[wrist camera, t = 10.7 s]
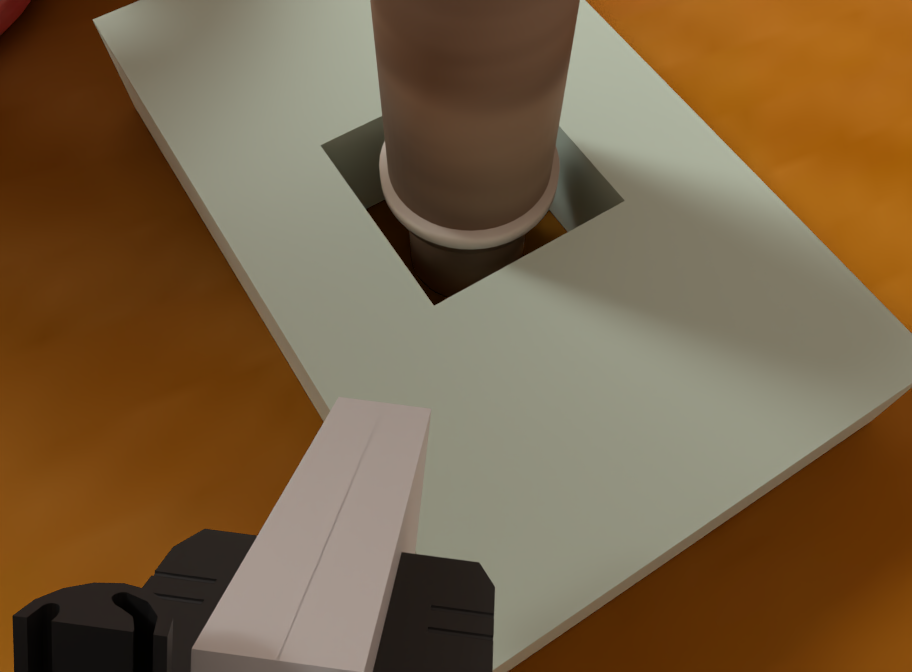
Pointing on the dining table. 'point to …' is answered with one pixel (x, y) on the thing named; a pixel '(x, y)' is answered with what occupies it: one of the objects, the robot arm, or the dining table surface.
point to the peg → (470, 126)
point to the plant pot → (10, 12)
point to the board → (524, 300)
